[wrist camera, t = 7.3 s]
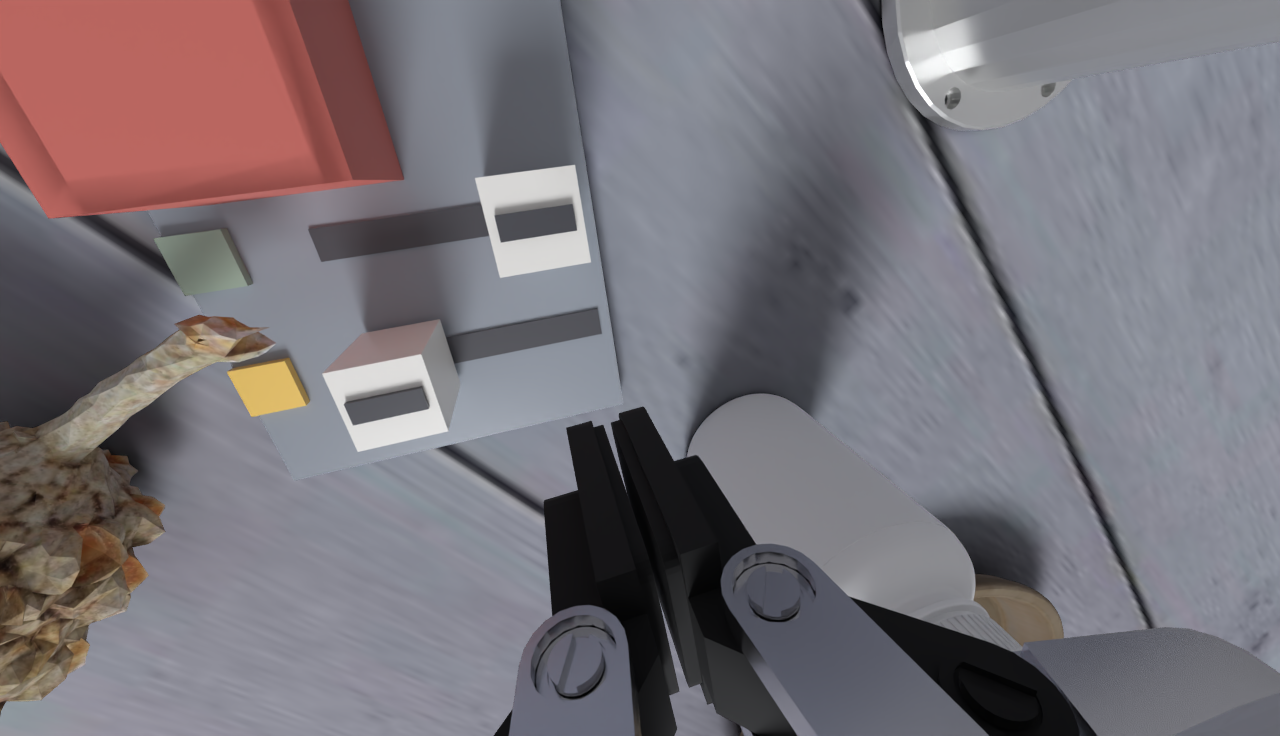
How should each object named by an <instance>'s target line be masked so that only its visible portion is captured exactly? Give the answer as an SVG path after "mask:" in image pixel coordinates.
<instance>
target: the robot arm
mask: <svg viewBox="0 0 1280 736" xmlns="http://www.w3.org/2000/svg"><path fill="white" fill-rule="evenodd" d="M882 25H883V31H884V37H885V43H886V49H887V54H888V57H889V60H890V63H891V66H892V68H893V71H894V74H895V77H896V80H897V81H898V83H899V85H900V87H901V88H902V90H903V92H904V93H905V95H906V97H907V98H908V100H909V101H910V102H911V103H912V104H913V105H914V106H915V108H916V109H917V110H918V111H919V112H920V113H921V114H922V115H923V116H925V117H926V118H928V119H929V120H931V121H933V122H934V123H936V124H938V125H939V126H942V127H945V128H949V129H953V130H957V131H980V130H987V129H994V128H1001V127H1005V126H1008V125H1010V124H1013V123H1015V122H1018V121H1021V120H1023V119H1025V118H1027V117H1028V116H1030V115H1031V114H1033V113H1035V112H1036V111H1038V110H1039V109H1041V108H1043V107H1044V106H1045V105H1046V104H1048V103H1049V102H1050V101H1051V100H1052V99H1053V98H1054V97H1056V96H1057V95H1058V94H1059V93H1060V92H1061V91H1062V90H1063V89H1064V88H1065V87H1066V86H1067V85H1068V84H1069V83H1070V82H1071V80H1072V79H1077V78H1083V77H1088V76H1094V75H1099V74H1105V73H1110V72H1116V71H1122V70H1127V69H1133V68H1138V67H1144V66H1149V65H1155V64H1160V63H1166V62H1172V61H1177V60H1183V59H1188V58H1194V57H1199V56H1205V55H1210V54H1216V53H1222V52H1227V51H1233V50H1238V49H1244V48H1249V47H1255V46H1260V45H1266V44H1272V43H1277V42H1280V0H882ZM619 419H620V420H618V421H615V422H611V426H612V431H613V435H614V439H615V444H616V448H617V452H618V457H619V461H620V465H621V469H622V474H623V478H624V482H625V487H626V490H625V487H624V484H623V481H622V478H621V475H620V472H619V469H618V466H617V463H616V461H615V458H614V455H613V452H612V449H611V446H610V443H609V440H608V437H607V434H606V431H605V429H604V426H603V425H600V426H597V427H593V424H592V421H589V422H586V423H582V424H579V425H575V426H571V427H568V428H566V429H567V435H568V440H569V445H570V450H571V455H572V461H573V466H574V471H575V476H576V481H577V487H578V490H577V491H574V492H570V493H567V494H564V495H560V496H557V497H554V498H550V499H547V500H544V515H545V528H546V540H547V553H548V566H549V579H550V591H551V604H552V617H550V618H549V619H547V620H546V621H545V622H544V623H543V624H542V625H541V626H540V627H539V628H538V629H537V630H536V631H535V632H534V633H533V635H532V636H531V638H530V640H529V641H528V643H527V645H526V647H525V648H524V650H523V654H522V657H521V661H520V664H519V669H518V676H517V683H516V689H515V696H514V703H513V709H512V711H511V712H510V714H509V715H508V716H507V718H506V719H505V721H504V722H503V723H502V725H501V726H500V728H499V729H498V730H497V732H496V733H495V735H494V736H674V735H675V733H676V730H677V726H676V722H675V718H674V714H673V710H672V706H671V702H670V698H669V695H672V694H674V693H677V692H679V687H678V683H677V678H676V674H675V669H674V665H673V660H672V656H671V651H670V647H669V642H668V638H667V633H666V629H665V624H664V620H663V615H662V611H661V606H662V609H663V612H664V615H665V618H666V621H667V624H668V627H669V630H670V633H671V636H672V639H673V642H674V645H675V648H676V651H677V654H678V657H679V660H680V663H681V666H682V669H683V672H684V675H685V678H686V681H687V684H688V686H689V688H690V687H692V686H695V685H698V684H700V685H701V688H702V690H703V693H704V696H705V699H706V702H707V704H711V703H713V704H714V707H715V710H716V713H717V714H719V715H721V716H723V717H725V718H727V719H729V720H731V721H733V722H735V723H736V724H738V725H740V726H741V729H742V731H743V734H744V736H1280V674H1279V673H1278V672H1277V671H1276V670H1274V669H1273V668H1271V667H1270V666H1268V665H1267V664H1265V663H1264V662H1263V661H1261V660H1260V659H1258V658H1257V657H1255V656H1254V655H1252V654H1251V653H1249V652H1248V651H1246V650H1244V649H1242V648H1240V647H1237V646H1235V645H1233V644H1231V643H1229V642H1227V641H1225V640H1223V639H1221V638H1218V637H1216V636H1213V635H1209V634H1206V633H1202V632H1199V631H1195V630H1192V629H1186V628H1169V627H1164V628H1155V629H1145V630H1136V631H1127V632H1117V633H1108V634H1099V635H1090V636H1080V637H1071V638H1062V639H1052V640H1043V641H1034V642H1024V644H1023V648H1022V651H1013V652H1011V651H1009V650H1007V649H1004V648H1002V647H1000V646H998V645H995V644H993V643H991V642H988V641H984V640H981V639H978V638H975V637H972V636H969V635H966V634H963V633H960V632H957V631H954V630H951V629H948V628H945V627H941V626H938V625H935V624H932V623H929V622H926V621H923V620H920V619H917V618H914V617H911V616H908V615H905V614H902V613H898V612H895V611H892V610H889V609H886V608H883V607H880V606H877V605H874V604H871V603H868V602H865V601H862V600H859V599H855V598H852V597H849V596H848V595H847V594H846V593H845V592H844V591H843V590H842V589H841V588H840V587H839V586H838V585H837V584H836V583H835V582H834V581H833V580H832V579H831V578H830V577H829V576H828V575H827V574H826V573H825V572H824V571H823V570H822V569H821V568H820V567H819V566H818V565H817V564H816V563H814V562H813V561H812V560H811V559H809V558H808V557H807V556H805V555H804V554H803V553H801V552H799V551H797V550H794V549H792V548H790V547H788V546H783V545H777V544H756V543H755V542H754V540H753V538H752V537H751V535H750V534H749V532H748V531H747V529H746V528H745V526H744V525H743V523H742V522H741V520H740V518H739V517H738V515H737V514H736V512H735V511H734V509H733V508H732V506H731V505H730V503H729V501H728V500H727V498H726V497H725V495H724V494H723V492H722V491H721V489H720V488H719V486H718V484H717V483H716V481H715V480H714V478H713V477H712V475H711V474H710V472H709V471H708V469H707V468H706V466H705V464H704V463H703V461H702V460H701V459H700V457H699V456H697V455H693V456H690V457H687V458H683V459H680V460H677V461H674V460H673V459H672V457H671V455H670V453H669V451H668V450H667V448H666V446H665V444H664V442H663V440H662V439H661V437H660V435H659V433H658V431H657V429H656V428H655V426H654V424H653V422H652V420H651V419H650V417H649V415H648V413H647V411H646V409H645V408H644V407H640V408H636V409H633V410H629V411H625V412H622V413H619ZM626 491H627V493H626ZM658 597H659V598H658ZM659 600H660V602H659ZM660 603H661V606H660Z"/></svg>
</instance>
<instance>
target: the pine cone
mask: <svg viewBox="0 0 1280 736" xmlns="http://www.w3.org/2000/svg"><path fill="white" fill-rule="evenodd" d="M175 325H176V326H177V327H178V328H179V329H180V330H178V331H177V332H175V333H174V334H172V335H171V336H169V337H168V338H167V339H166V340H164V341H163V342H162V343H161V344H160V345H158V346H157V347H156V348H155V349H153V350H151V351H149V352H148V353H146V354H144V355H142V356H140V357H139V358H138V359H136V360H135V361H134V362H133V363H131V364H130V365H129V366H127V367H126V368H124V369H123V370H121V371H119V372H118V373H116V374H114V375H112V376H110V377H108V378H106V379H104V380H102V381H100V382H99V383H98V384H97V385H96V386H95V387H94V389H93V390H92V391H91V392H90V393H89V394H87V395H85V396H83V397H81V398H79V399H78V400H77V401H76V403H75V404H74V405H73V406H72V407H71V409H69V410H68V411H67V412H65V413H64V414H63V415H61V416H59V417H57V418H55V419H53V420H50V421H48V422H46V423H44V424H42V425H40V426H37V427H34V428H28V427H20V426H15V427H12V428H10V426H9V423H8V421H7V422H0V715H1V710H2V708H3V706H4V704H5V703H6V701H36V700H42V699H43V698H44V697H45V696H46V695H47V694H49V693H50V692H51V691H52V690H53V689H54V688H56V687H57V686H58V685H59V684H60V683H61V682H63V681H64V680H65V679H66V677H67V674H69V673H71V672H73V671H75V670H76V669H78V668H80V667H82V666H84V665H85V659H86V656H87V652H88V649H89V646H90V644H89V643H88V642H87V641H86V638H87V633H88V629H89V628H88V626H89V624H90V623H93V622H96V621H100V620H102V619H105V618H108V617H111V616H114V615H116V614H119V613H122V612H125V611H126V610H127V607H128V604H129V601H130V598H131V596H130V593H131V592H132V591H133V590H134V589H135V588H136V587H137V586H138V585H139V584H140V583H141V582H142V581H143V580H144V579H145V578H146V577H147V576H149V575H148V573H147V572H146V571H145V569H144V568H143V566H142V565H141V564H140V562H139V561H138V559H137V558H136V557H135V555H134V551H133V548H132V547H136V546H141V545H146V544H149V543H151V542H152V541H153V540H155V539H156V538H158V537H159V536H160V535H162V534H163V533H164V532H165V530H164V527H163V525H162V523H161V520H160V518H159V516H160V515H161V513H162V512H163V510H164V509H165V505H164V504H162V503H161V502H160V501H158V500H157V499H155V498H154V497H151V496H144V495H142V494H141V492H140V490H139V488H138V487H134V486H131V485H130V480H131V477H132V476H133V475H135V474H136V473H137V472H138V470H137V469H135V468H134V467H132V466H131V465H130V464H129V461H128V457H127V456H120V455H111V454H110V452H109V450H102V449H101V448H99V447H97V446H98V445H100V444H101V443H102V442H103V441H104V440H106V439H107V438H108V437H109V436H110V435H112V434H113V433H114V432H115V431H116V430H118V429H119V428H120V427H121V426H122V425H123V424H124V423H125V422H126V421H127V420H128V419H129V417H130V416H132V415H133V414H135V413H137V412H138V411H140V410H141V409H143V408H145V407H146V406H148V405H149V404H151V403H152V402H153V401H154V400H155V399H157V398H158V397H159V396H160V395H161V394H163V393H164V392H165V391H167V390H168V389H170V388H171V387H172V386H174V385H175V384H176V383H178V382H179V381H180V380H182V379H184V378H186V377H188V376H190V375H192V374H193V373H195V372H197V371H199V370H201V369H203V368H205V367H207V366H209V365H211V364H213V363H215V362H241V361H244V360H248V359H251V358H255V357H258V356H260V355H262V354H264V353H266V352H267V351H268V350H269V349H270V348H272V347H273V346H274V345H275V344H276V342H274V341H272V340H271V339H269V338H268V337H266V336H265V335H263V334H261V333H260V332H259V331H261V330H264V329H267V328H270V327H248V326H246V325H245V324H243V323H241V322H239V321H237V320H236V319H235V318H233V317H218V316H212V317H207V316H202V315H197V316H194V317H192V318H189V319H186V320H184V321H181V322H178V323H176V324H175Z"/></svg>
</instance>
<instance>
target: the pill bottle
mask: <svg viewBox="0 0 1280 736" xmlns="http://www.w3.org/2000/svg"><path fill="white" fill-rule="evenodd" d="M693 455H697V456H699V457H700V459H701V460H702V461H703V463H704V464H705V466H706V468H707V469H708V471H709V472H710V474H711V475H712V477H713V478H714V480H715V481H716V483H717V484H718V486H719V488H720V489H721V491H722V492H723V494H724V495H725V497H726V498H727V500H728V501H729V503H730V505H731V506H732V508H733V509H734V511H735V512H736V514H737V515H738V517H739V518H740V520H741V522H742V523H743V525H744V526H745V528H746V529H747V531H748V532H749V534H750V535H751V537H752V538H753V540H754V542H755V543H756V544H777V545H783V546H788V547H790V548H792V549H794V550H797V551H799V552H801V553H803V554H804V555H805V556H807V557H808V558H809V559H811V560H812V561H813V562H814V563H816V564H817V565H818V566H819V567H820V568H821V569H822V570H823V571H824V572H825V573H826V574H827V575H828V576H829V577H830V578H831V579H832V580H833V581H834V582H835V583H836V584H837V585H838V586H839V587H840V588H841V589H842V590H843V591H844V592H845V593H846V594H847V595H848V596H849V597H852V598H855V599H859V600H862V601H865V602H868V603H871V604H874V605H877V606H880V607H883V608H886V609H889V610H892V611H895V612H898V613H902V614H905V615H908V616H911V617H914V618H917V619H920V620H923V621H926V622H929V623H932V624H935V625H938V626H941V627H945V628H948V629H951V630H954V631H957V632H960V633H963V634H966V635H969V636H972V637H975V638H978V639H981V640H984V641H988V642H991V643H993V644H995V645H998V646H1000V647H1002V648H1004V649H1007V650H1009V651H1011V652H1013V651H1022V648H1023V647H1022V646H1021V645H1020V644H1019V643H1018V642H1017V641H1015V640H1014V639H1013V638H1012V637H1011V636H1010V635H1009V634H1008V633H1007V632H1006V631H1005V630H1004V629H1003V628H1002V627H1001V626H1000V625H998V624H997V623H996V622H995V621H994V620H993V619H991V618H990V617H989V614H988V613H987V611H986V610H985V609H984V608H983V607H982V606H981V605H980V604H978V603H977V602H975V601H973V600H974V595H975V572H974V568H973V564H972V561H971V559H970V557H969V555H968V553H967V551H966V549H965V548H964V546H963V545H962V544H961V542H960V541H959V539H958V538H957V536H956V535H955V534H954V533H953V532H952V531H951V530H950V529H949V528H948V527H946V526H945V525H944V524H943V523H942V522H941V521H939V520H938V519H937V518H936V517H934V516H933V515H932V514H931V513H930V512H928V511H927V510H926V509H925V508H923V507H922V506H921V505H920V504H918V503H917V502H916V501H915V500H914V499H912V498H911V497H910V496H909V495H907V494H906V493H905V492H904V491H902V490H901V489H900V488H899V487H897V486H896V485H895V484H894V483H893V482H891V481H890V480H889V479H888V478H886V477H885V476H884V475H883V474H881V473H880V472H879V471H878V470H877V469H875V468H874V467H873V466H872V465H870V464H869V463H868V462H867V461H865V460H864V459H863V458H862V457H860V456H859V455H858V454H857V453H856V452H854V451H853V450H852V449H851V448H849V447H848V446H847V445H846V444H844V443H843V442H842V441H841V440H840V439H838V438H837V437H836V436H835V435H833V434H832V433H831V432H830V431H828V430H827V429H826V428H825V427H823V426H822V425H821V424H820V423H819V422H817V421H816V420H815V419H814V418H812V417H811V416H810V415H809V414H807V413H806V412H805V411H804V410H802V409H801V408H800V407H799V406H797V405H796V404H794V403H792V402H791V401H789V400H787V399H785V398H783V397H780V396H777V395H772V394H750V395H745V396H742V397H739V398H736V399H733V400H731V401H729V402H727V403H725V404H724V405H722V406H721V407H719V408H718V409H716V410H715V411H714V412H713V413H711V414H710V415H709V416H708V417H707V418H706V419H705V420H704V422H703V423H702V424H701V425H700V427H699V428H698V429H697V431H696V433H695V434H694V436H693V438H692V441H691V443H690V446H689V449H688V453H687V457H690V456H693Z"/></svg>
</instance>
